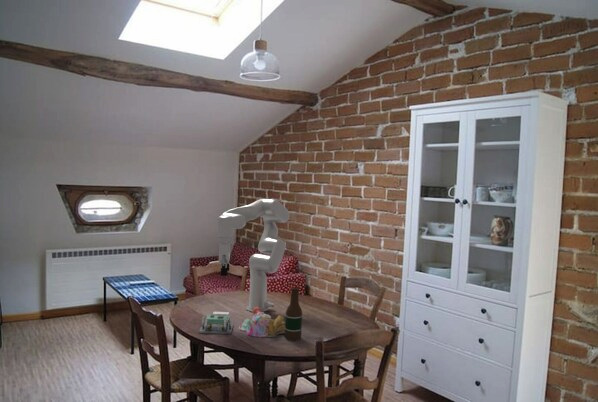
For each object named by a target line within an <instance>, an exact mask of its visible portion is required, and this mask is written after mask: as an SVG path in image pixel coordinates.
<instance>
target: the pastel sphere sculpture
mask: <svg viewBox="0 0 598 402" xmlns="http://www.w3.org/2000/svg"><path fill="white" fill-rule="evenodd" d="M252 313H253V314H254V315H253V316H252V317H251V319H250V318H249V317H248V318H245V319H244V320H243V323H241V322H239V327H238V330H240V331H241V332H245V333H246V334H247V336H251V337H253V338H255V337H256V338H262V337H263V338H275V337H276V336H278V335H280V334H281V335H282V334H285V321H284V319H285V318H284V317H283V316H282V315H280V314H279V315H278V316H277V317H276V318H275V319H274V318H273V319H272V316H271V315H270V314H266V313H265V311H264V312H261V309H260V308H259V307H255V308H254V309H253V312H252Z"/></svg>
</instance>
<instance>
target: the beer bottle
mask: <svg viewBox="0 0 598 402" xmlns="http://www.w3.org/2000/svg"><path fill="white" fill-rule="evenodd" d="M290 290H291V291H290V300H289V301H290V302H289V305H288V307H287V308H286V310H285V318H284V319H285V321H284V324H285V333H284V338H285V339H286V340H287V341H291V340H292V341H291V342H294V341H299V340H300V339H302V328H303V310H302V307H301V306H300V302H299V291H300V288H299V287H296V286H292V287H291V289H290Z"/></svg>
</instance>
